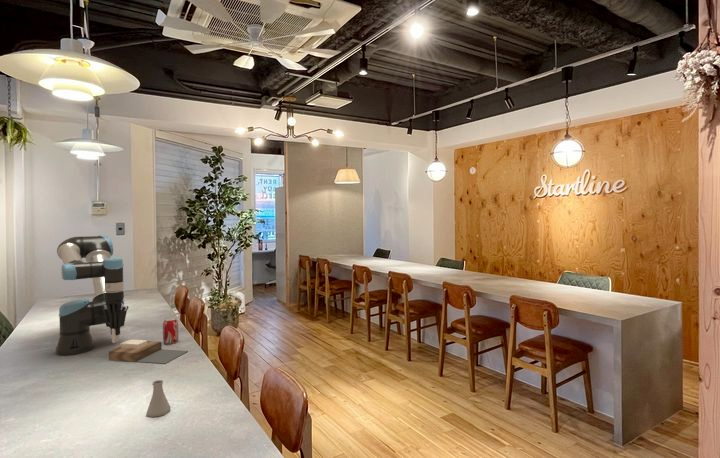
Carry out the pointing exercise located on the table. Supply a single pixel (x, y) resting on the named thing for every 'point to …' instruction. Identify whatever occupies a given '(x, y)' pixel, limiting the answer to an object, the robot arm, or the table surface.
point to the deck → (134, 352)
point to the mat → (162, 356)
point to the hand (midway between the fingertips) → (115, 341)
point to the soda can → (170, 330)
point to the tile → (133, 344)
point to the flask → (158, 401)
